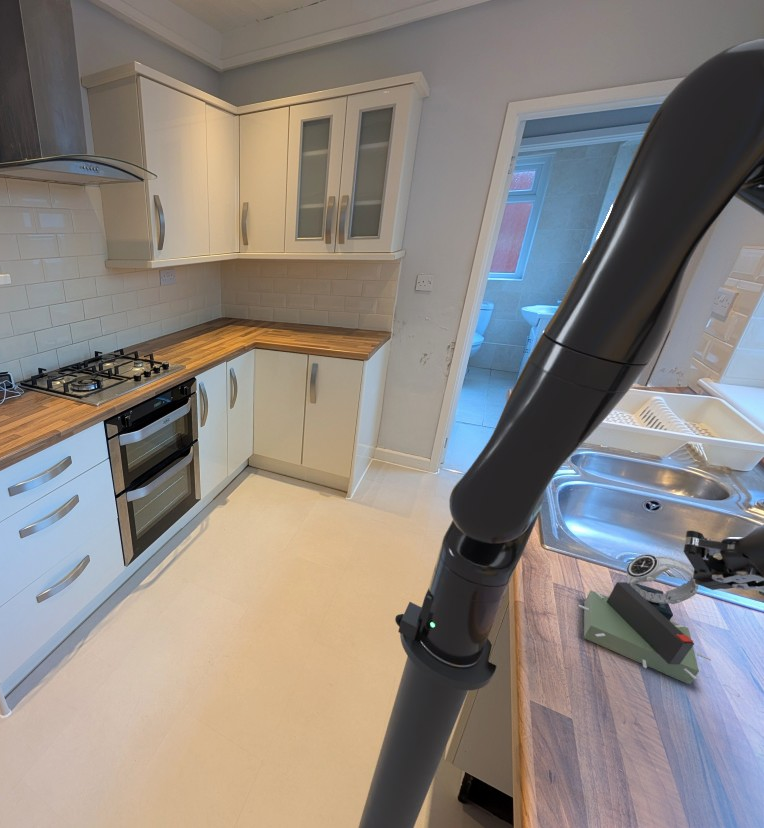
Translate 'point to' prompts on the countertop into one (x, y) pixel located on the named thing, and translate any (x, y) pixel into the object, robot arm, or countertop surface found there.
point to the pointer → (650, 623)
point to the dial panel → (631, 639)
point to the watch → (652, 568)
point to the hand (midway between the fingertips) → (703, 578)
